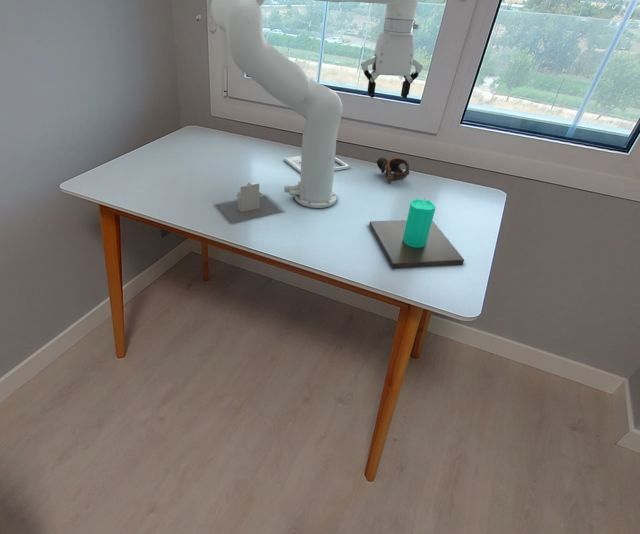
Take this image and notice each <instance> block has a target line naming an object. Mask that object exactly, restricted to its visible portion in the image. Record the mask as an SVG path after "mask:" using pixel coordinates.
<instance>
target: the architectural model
mask: <svg viewBox="0 0 640 534" xmlns="http://www.w3.org/2000/svg"><path fill="white" fill-rule="evenodd" d="M239 189H240V191H237V194H236V195H235V196H236V197H237V201H230V202H227V203H222V204H217V205H216V207H217V208H218V209H219V211H221V213H222V214H223V215H224V216H225V217H226V218H227V219H228V221H229V222H230V223H231V224H234V223H239V222H243V221H247V220H252V219H256V218H260V217H266V216H270V215H274V214H278V213H282V210H281V209H280V208H279V207H277V205H276V204H274V203H273V202H272V201H271V200H270V199H269V198H267V196H265V195H264V194H263V193H262V192H261V191H260V183H254V184H252V183H251V182H248V183H247V184H246V185H243V186H240V187H239Z"/></svg>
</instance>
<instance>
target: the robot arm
mask: <svg viewBox="0 0 640 534" xmlns="http://www.w3.org/2000/svg"><path fill="white" fill-rule="evenodd" d="M265 1H266V0H212V1H211V5H210V13H211V14H210V15H211V17H212V20H213V22H214V23H215V25H216V26H217V28H219V29H220V30H221V31H222V32H224V33H226V42H227V47H228V50H229V53H230V56H231V58H232V60H233V63H234V64H235V65H236V67H237V68H238V69H239V70H240V71H241V72H242V73H244V74H245V75H246V76H248V78H250V79H251V80H253V81H254V82H255V83H257V84H258V85H259V86H261V87H262V89H263V91H265V93H267V94H269V95H270V96H271V97H273V98H274V99H276V100H278V101H279V102H280V103H282V105H285V106H286V107H288V108H290V109H291V110H292V111H294V112H296V113H297V114H298V115H300V116H301V117H303V118H304V119H305V120H306V121H305V126H304V129H303V133H302V137H301V156H302V157H301V173H300V180H298V182H297V184H294V185H284V188H283V189H284V193H288V194H289V196H294V201H296V203H298V205H299V204H300V205H301V206H304V207H306V208H311V209H325V208H329V207H332V206H334V205H335V204H336V203H337V197H338V196H337V195H336V193H335V192H334V191H333V185H334V173H335V171H334V167H335V162H336V161H335V157H336V152H337V140H338V133H339V128H340V124H341V121H342V117H343V111H344V110H343V109H344V108H343V102H342V100H341V97H340V96H339V94H338V93H337V92H335V91H334V90H333V89H331V88H329V87H328V86H325V85H324V84H321V83H319V82H317V81H315V80H313V79H312V78H311V77H309V76H308V75H307V73H306V71H305V70H304V69H303V68H302V67H301V66H300V65H298V64H297V63H296V62H294V61H292V60H290V59H289V58H288V57H286V56H285V55H284V54H282V52H280V51H278V49H276V48H275V47H274V46H272V45H271V44H270V43H269V41H268V40H267V39H266V37H265V34H264V26H263V23H264V22H263V14H262V10H261V6H262V5H263V4H264V3H265ZM314 1H316V2H332V3H346V2H347V3H365V4H379V5H385V14H384V19H383V20H384V21H383V27H382V28H383V29H382V31H381V30H380V31H379V33H378V36H377V39H376V43H375V46H374V47H375V48H374V52H373V56H372V57H370V58H368V59H366V60H363V61H362V62H361V63H360V66H361V69H362V73H363V75H364V76H365V77H366V78H367V81H368V84H367V94H368V97H370V98H375V93H376V85H377V83H376V82H375V81H376V80H377V78H379V76H397V77H403V79H404V80H403V82H402V85H401V91H400V97H402V98H403V99H407V98H408V95H409V94H410V90H411V84H412V83H414V81H415V80H416V79H417V78H418V77H419V74H420V73H421V72H422V71H423V68H424V65H422V64H421V63H420V62H418V61H417V60H415V59H414V51H415V34H414V33H413V32H414V30H418V28H419V23H418V22H416V19H415V17H416V13H417V6H418V1H419V0H314ZM369 66H371V72H370V71H369ZM412 67H414V68H415V69H414V70H413V71H412Z"/></svg>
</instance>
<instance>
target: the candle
mask: <svg viewBox="0 0 640 534" xmlns="http://www.w3.org/2000/svg"><path fill="white" fill-rule="evenodd" d="M436 208H437V206H436V205H435V204H434V203H433V202H432V201H431V200H428V199H426V198H425V197H424V199H421V198H414V199H412V200H411V201H410V204H409V209H408V213H407V218H406V220H407V222H406V226H405V231H404V236H403V241H404V243H405V244H407V245H408V246H411V247H419V248H420V247H423V246H425V245H426V243H427V239H428V235H429V231H430V227H431V224H432V221H433V220H434V216H435V213H436Z"/></svg>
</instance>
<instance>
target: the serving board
mask: <svg viewBox="0 0 640 534" xmlns="http://www.w3.org/2000/svg"><path fill="white" fill-rule="evenodd" d="M406 222H407V219H402V220H401V219H400V220H399V219H398V220H373V221H372V220H371V221H369V224H368V227H369V229H370V231H371V232H372V234H373V236H374V237H375V239H376V241H377V243H378V245H379V246H380V249H381V250H382V252H383V254H384V256H385V258H386V259H387V261H388V263H389V265H390V267H391V269H394V270H395V269H409V268H426V267H427V268H429V267H444V266H445V267H446V266H448V267H449V266H462V265H464V262H465V259H464V258H463V256H462V255H461V254H460V253H459V251H458V250H457V248H455V247H454V245H453V244H452V243H451V241H450V240H449V238H447V237H446V236H445V234H444V232H442V230H441V229H440V228H439V226H438V225H437V224H436V223H435V222H434V221H433V220H432V224H431V227H430V231H429V235H428V239H427V243H426V245H425V246H423V247H420V248H419V247H411V246H408V245H407V244H405V243H404V241H403V236H404V231H405V226H406Z"/></svg>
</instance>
